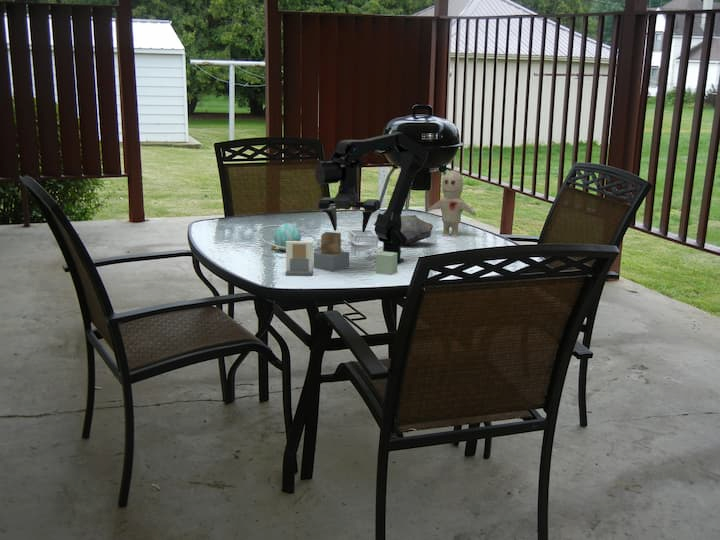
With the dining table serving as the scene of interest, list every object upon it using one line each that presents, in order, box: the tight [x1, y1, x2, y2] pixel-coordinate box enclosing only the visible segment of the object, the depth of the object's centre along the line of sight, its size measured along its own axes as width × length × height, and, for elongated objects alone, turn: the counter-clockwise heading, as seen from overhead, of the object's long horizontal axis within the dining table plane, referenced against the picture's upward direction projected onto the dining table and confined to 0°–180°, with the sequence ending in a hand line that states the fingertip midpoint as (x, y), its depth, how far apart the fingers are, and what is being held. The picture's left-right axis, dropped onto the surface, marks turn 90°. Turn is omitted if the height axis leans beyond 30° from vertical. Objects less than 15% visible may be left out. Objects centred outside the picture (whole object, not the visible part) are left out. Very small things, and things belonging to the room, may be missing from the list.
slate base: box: [313, 250, 350, 273], centre depth 243 cm, size 8×8×5 cm
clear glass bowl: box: [256, 222, 319, 252], centre depth 265 cm, size 10×20×20 cm
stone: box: [401, 214, 434, 245], centre depth 278 cm, size 18×10×15 cm
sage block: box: [375, 250, 398, 276], centre depth 238 cm, size 5×5×6 cm
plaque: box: [285, 240, 314, 277], centre depth 234 cm, size 8×5×10 cm, turn 91°
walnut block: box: [320, 231, 342, 255], centre depth 242 cm, size 5×5×6 cm
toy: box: [427, 169, 477, 238], centre depth 292 cm, size 18×8×25 cm, turn 65°
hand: (349, 231), depth 241 cm, fingers open, 9 cm apart
